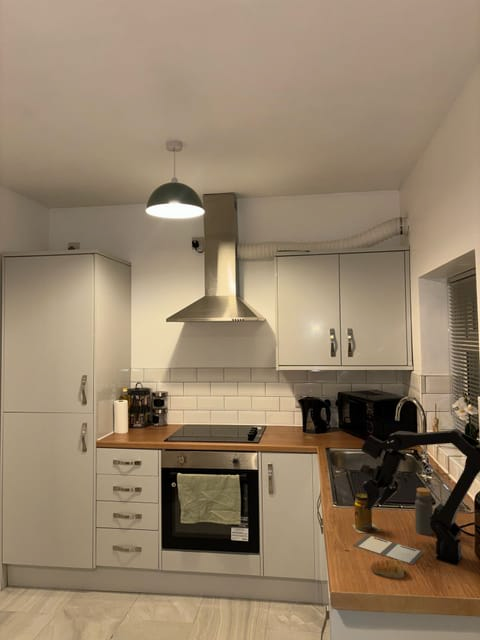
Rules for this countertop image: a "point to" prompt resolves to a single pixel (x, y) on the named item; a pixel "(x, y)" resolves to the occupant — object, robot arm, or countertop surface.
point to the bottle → (423, 511)
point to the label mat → (389, 549)
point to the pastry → (388, 568)
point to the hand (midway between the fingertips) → (374, 507)
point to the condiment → (363, 516)
